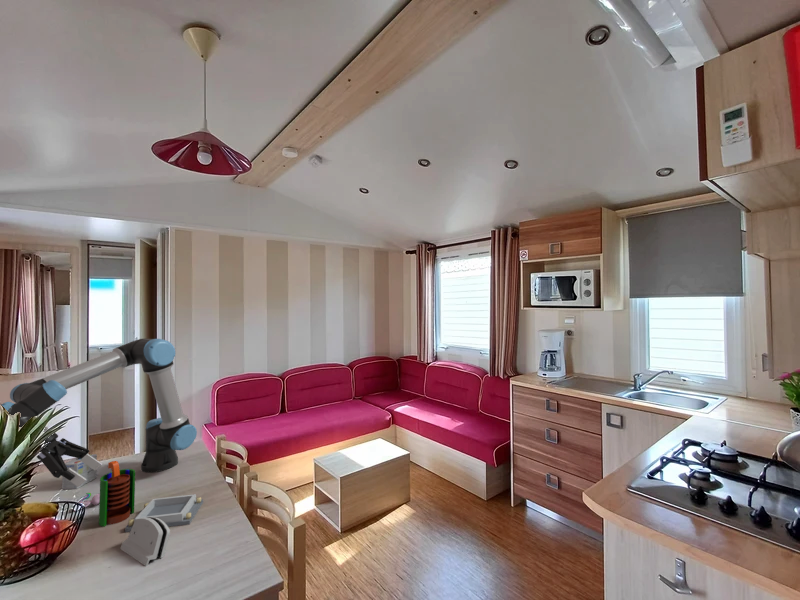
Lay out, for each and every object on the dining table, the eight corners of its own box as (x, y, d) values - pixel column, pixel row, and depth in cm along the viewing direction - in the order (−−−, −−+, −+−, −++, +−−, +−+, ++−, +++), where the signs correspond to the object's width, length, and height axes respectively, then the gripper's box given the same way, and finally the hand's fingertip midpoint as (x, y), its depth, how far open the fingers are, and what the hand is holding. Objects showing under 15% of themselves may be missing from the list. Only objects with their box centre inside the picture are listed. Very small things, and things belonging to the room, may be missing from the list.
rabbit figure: (69, 519, 133) (119, 498, 143) (66, 504, 133) (117, 484, 143) (69, 512, 138) (118, 492, 148) (66, 497, 137) (115, 479, 147)
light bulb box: (82, 478, 164) (82, 454, 164) (97, 477, 164) (97, 453, 164) (60, 489, 153) (61, 464, 153) (77, 489, 153) (77, 463, 154)
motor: (111, 527, 125) (112, 469, 126) (91, 525, 127) (92, 467, 127) (138, 511, 135) (139, 458, 136) (118, 509, 137) (119, 456, 137)
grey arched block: (119, 548, 114) (132, 513, 117) (135, 545, 118) (147, 511, 121) (146, 566, 106) (159, 527, 109) (162, 563, 109) (174, 525, 113)
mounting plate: (146, 508, 137) (146, 499, 137) (203, 502, 141) (203, 492, 141) (125, 532, 122) (125, 521, 122) (189, 524, 127) (189, 513, 127)
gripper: (46, 435, 134) (96, 469, 139) (3, 461, 111) (64, 500, 116) (65, 419, 136) (113, 453, 141) (26, 441, 113) (85, 481, 118)
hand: (91, 475), depth 128 cm, fingers open, 13 cm apart
